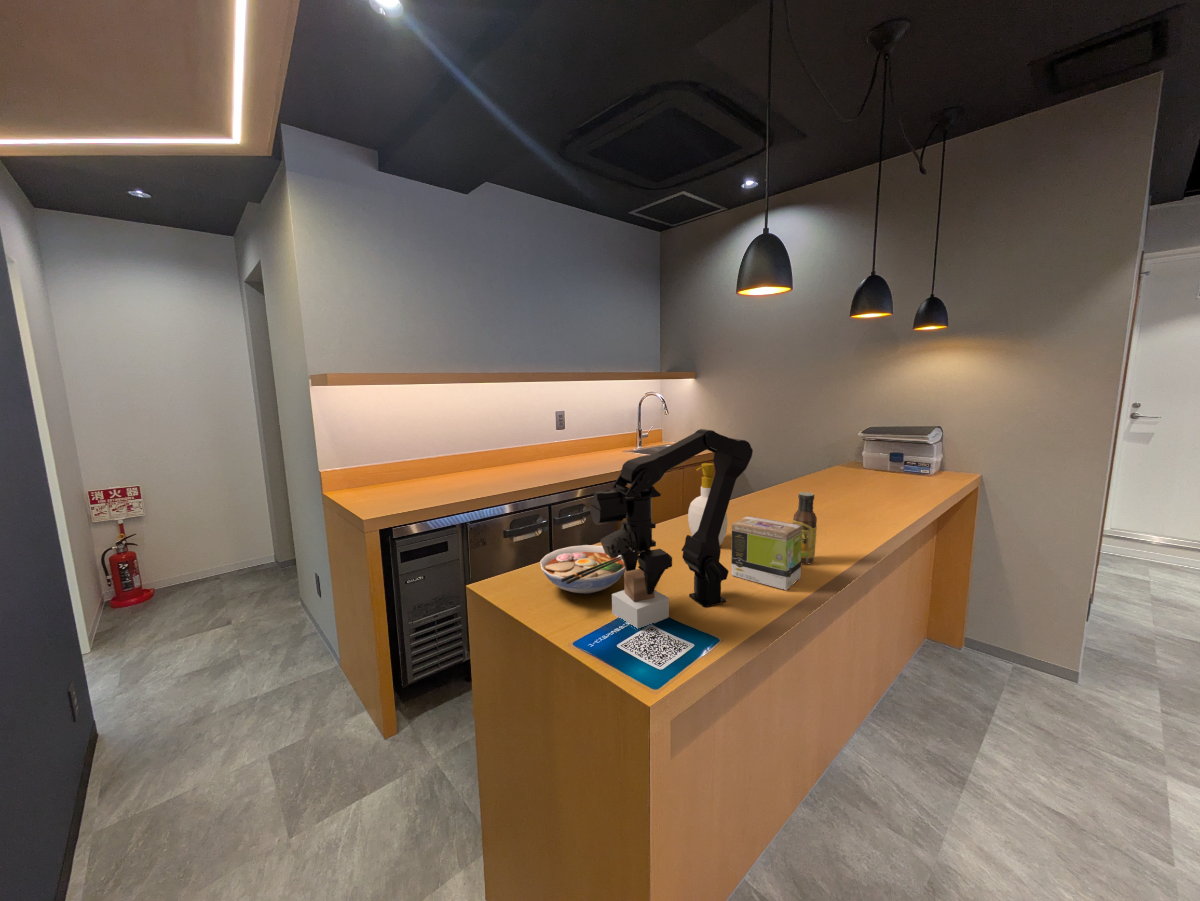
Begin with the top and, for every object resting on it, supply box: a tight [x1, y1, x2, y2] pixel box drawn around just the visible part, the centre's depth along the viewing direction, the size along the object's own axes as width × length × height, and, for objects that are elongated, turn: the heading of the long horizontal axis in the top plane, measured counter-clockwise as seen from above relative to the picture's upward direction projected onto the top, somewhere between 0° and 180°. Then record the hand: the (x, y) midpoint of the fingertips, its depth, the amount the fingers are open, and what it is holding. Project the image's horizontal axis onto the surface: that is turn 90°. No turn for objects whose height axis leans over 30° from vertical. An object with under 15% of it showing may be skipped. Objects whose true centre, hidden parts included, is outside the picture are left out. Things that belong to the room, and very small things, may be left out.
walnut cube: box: [623, 568, 655, 602], centre depth 104 cm, size 5×5×5 cm
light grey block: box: [611, 589, 670, 629], centre depth 105 cm, size 9×9×5 cm
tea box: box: [731, 515, 802, 591], centre depth 122 cm, size 15×10×15 cm
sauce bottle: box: [792, 491, 818, 565], centre depth 132 cm, size 6×6×20 cm
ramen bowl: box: [539, 544, 626, 595], centre depth 120 cm, size 25×23×8 cm
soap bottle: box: [687, 462, 728, 546], centre depth 148 cm, size 14×9×26 cm, turn 36°
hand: (639, 585), depth 104 cm, fingers open, 9 cm apart
